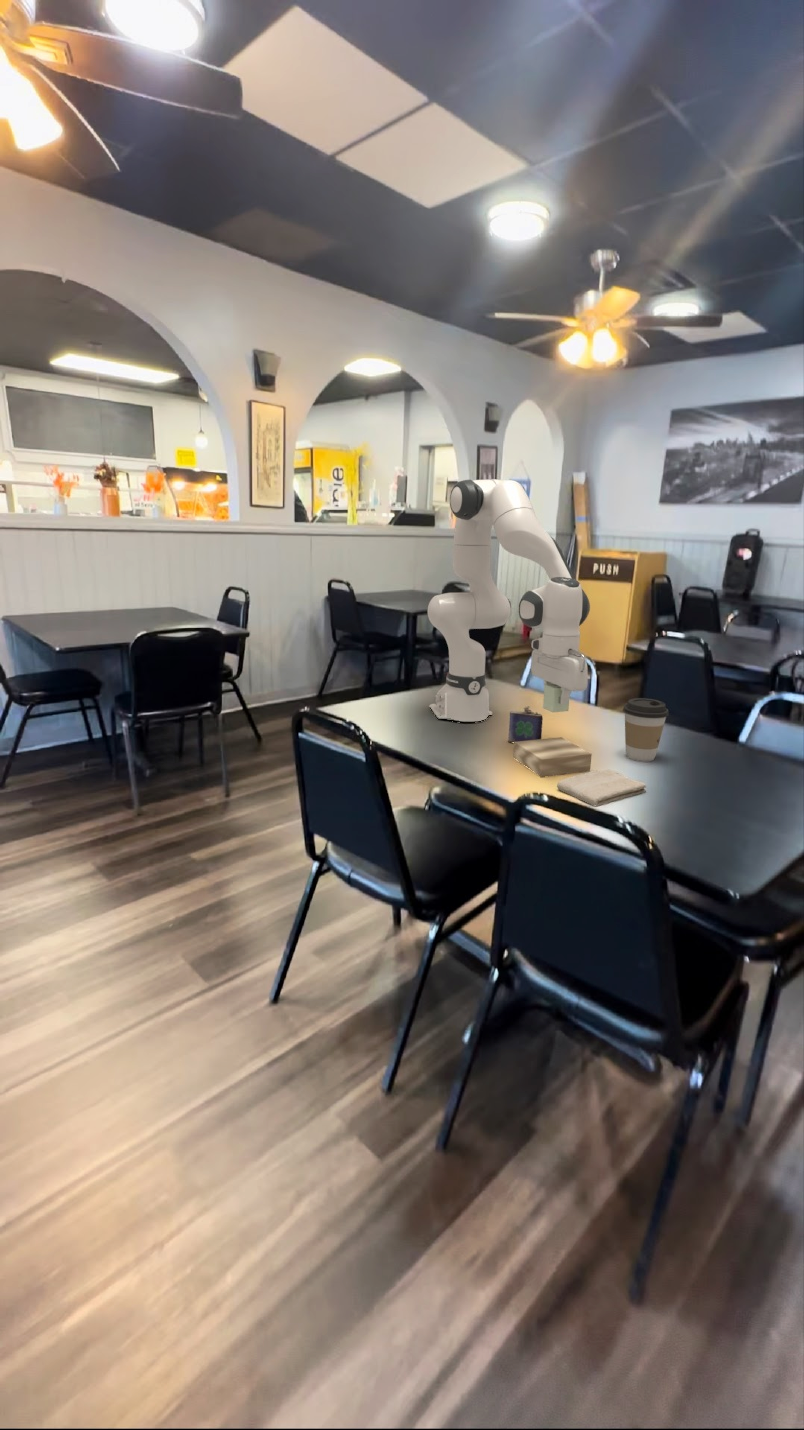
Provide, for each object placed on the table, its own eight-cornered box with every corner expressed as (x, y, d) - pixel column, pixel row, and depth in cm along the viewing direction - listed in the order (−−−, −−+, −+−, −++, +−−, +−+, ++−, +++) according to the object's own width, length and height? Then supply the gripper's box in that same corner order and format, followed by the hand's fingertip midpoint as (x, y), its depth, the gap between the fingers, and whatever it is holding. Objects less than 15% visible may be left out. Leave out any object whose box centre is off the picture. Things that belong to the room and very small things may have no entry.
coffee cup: (666, 766, 171) (673, 709, 167) (620, 762, 173) (626, 706, 169) (659, 751, 181) (665, 698, 177) (615, 748, 184) (621, 695, 179)
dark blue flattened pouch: (506, 742, 187) (509, 705, 184) (509, 739, 190) (512, 703, 187) (539, 747, 184) (542, 710, 181) (542, 744, 186) (545, 707, 183)
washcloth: (648, 793, 154) (650, 781, 154) (595, 810, 145) (596, 796, 144) (608, 777, 164) (609, 765, 163) (555, 791, 155) (556, 779, 154)
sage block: (542, 707, 168) (544, 684, 166) (558, 706, 169) (560, 683, 168) (552, 712, 164) (554, 688, 162) (568, 711, 165) (570, 687, 163)
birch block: (513, 760, 175) (514, 741, 173) (559, 754, 179) (561, 737, 178) (540, 778, 162) (541, 759, 161) (589, 772, 167) (591, 753, 165)
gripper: (596, 652, 154) (591, 710, 157) (549, 639, 172) (545, 691, 176) (573, 654, 152) (568, 712, 155) (528, 640, 170) (524, 693, 174)
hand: (556, 701), depth 166 cm, fingers closed on sage block, 4 cm apart
